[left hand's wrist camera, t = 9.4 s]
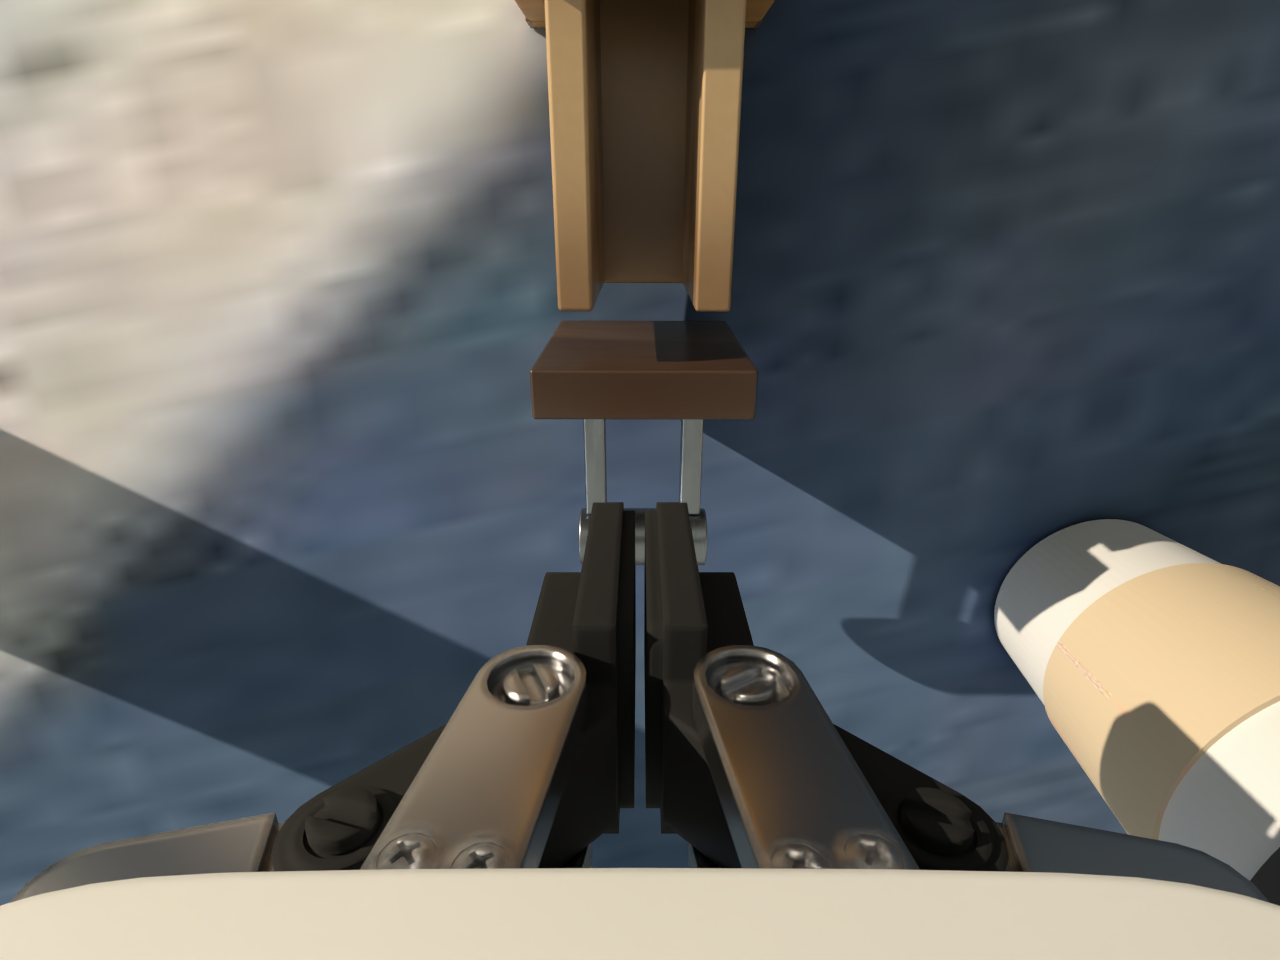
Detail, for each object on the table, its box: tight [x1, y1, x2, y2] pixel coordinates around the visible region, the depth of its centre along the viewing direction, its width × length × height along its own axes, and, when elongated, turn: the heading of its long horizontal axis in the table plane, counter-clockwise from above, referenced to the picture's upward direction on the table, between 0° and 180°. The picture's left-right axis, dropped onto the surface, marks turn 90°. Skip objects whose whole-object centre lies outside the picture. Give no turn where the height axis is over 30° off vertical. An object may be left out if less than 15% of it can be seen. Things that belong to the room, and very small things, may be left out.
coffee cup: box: [994, 519, 1280, 906], centre depth 19 cm, size 9×9×15 cm
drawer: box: [530, 0, 758, 565], centre depth 17 cm, size 23×5×7 cm, turn 0°
